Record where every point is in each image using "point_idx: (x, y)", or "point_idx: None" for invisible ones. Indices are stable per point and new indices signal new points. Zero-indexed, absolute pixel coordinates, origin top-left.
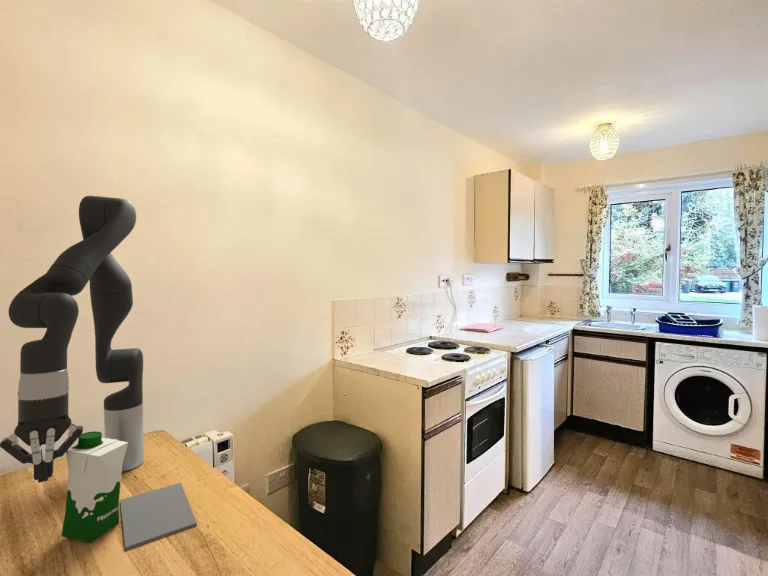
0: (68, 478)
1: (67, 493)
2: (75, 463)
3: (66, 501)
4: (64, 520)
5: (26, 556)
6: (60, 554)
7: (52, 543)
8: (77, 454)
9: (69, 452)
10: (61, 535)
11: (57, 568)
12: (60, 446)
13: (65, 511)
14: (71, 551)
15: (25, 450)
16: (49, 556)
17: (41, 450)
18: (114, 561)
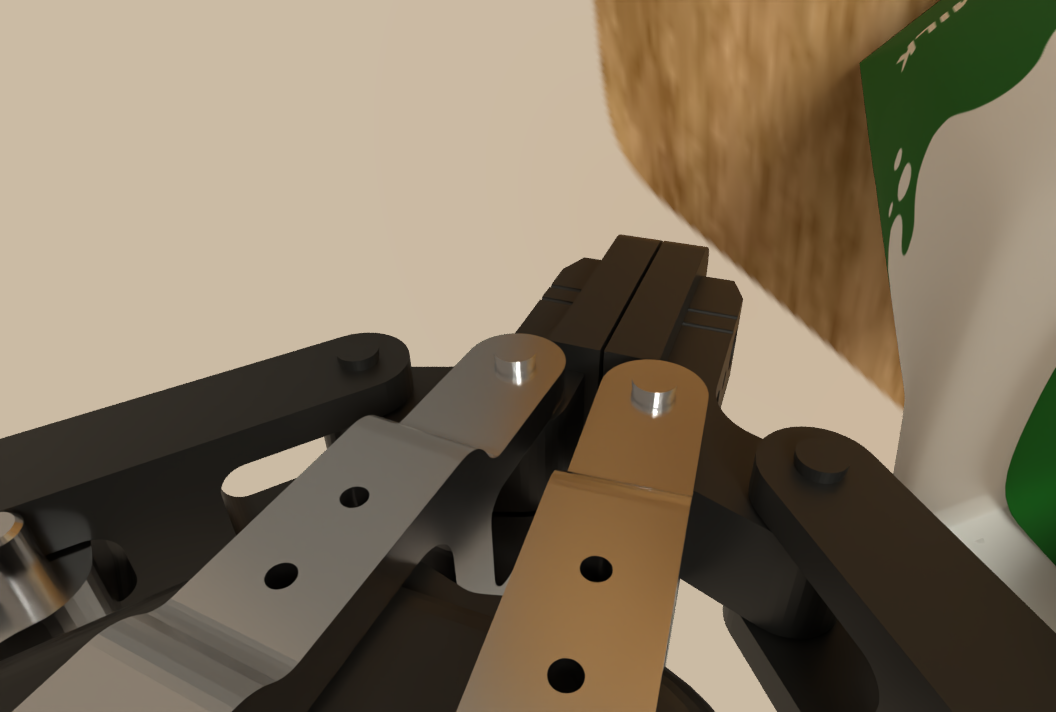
0: (899, 347)
1: (887, 267)
2: None
3: (881, 221)
4: (870, 147)
5: (684, 99)
6: (833, 208)
7: (812, 49)
8: None
9: None
10: (860, 68)
11: (803, 316)
12: (792, 554)
13: (876, 170)
14: None
15: (285, 427)
16: (783, 186)
17: (505, 468)
18: None
